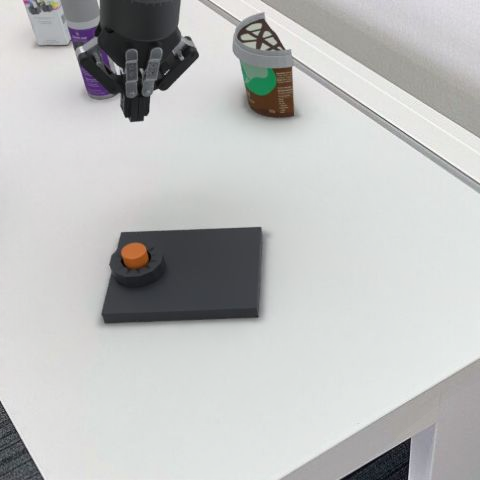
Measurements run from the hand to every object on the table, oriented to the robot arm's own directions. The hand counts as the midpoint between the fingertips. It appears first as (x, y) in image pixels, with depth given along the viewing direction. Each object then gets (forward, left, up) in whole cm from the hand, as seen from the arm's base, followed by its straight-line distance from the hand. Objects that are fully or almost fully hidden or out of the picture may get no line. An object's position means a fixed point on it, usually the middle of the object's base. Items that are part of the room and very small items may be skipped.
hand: (134, 116), depth 86 cm
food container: (+13, +20, -11) cm, 26 cm away
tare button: (+1, -15, -8) cm, 17 cm away
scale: (+6, -15, -11) cm, 19 cm away
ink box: (-20, +43, -11) cm, 49 cm away
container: (-10, +25, -11) cm, 29 cm away
